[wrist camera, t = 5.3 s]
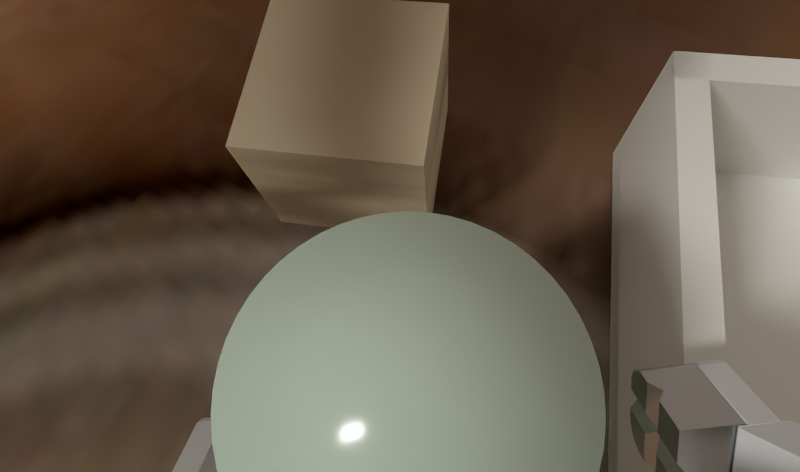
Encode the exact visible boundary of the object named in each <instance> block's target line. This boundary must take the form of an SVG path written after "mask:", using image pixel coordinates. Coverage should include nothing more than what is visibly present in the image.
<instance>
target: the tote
mask: <svg viewBox="0 0 800 472" xmlns="http://www.w3.org/2000/svg"><path fill="white" fill-rule="evenodd" d="M714 359H721V360H723V361H725V362H726V363H727V364H728V365H729V366H730V367H731V368H732V369H733V370H734V371H735V372H736V373H737V374H738V375H739V377H740V378H741V379H742V380H743V381H744V382H745V383H746V384H747V385H748V386H749V387H750V388H751V389H752V390H753V391H754V392H755V394H756V395H757V396H758V397H759V398H760V399H761V400H762V401H763V402H764V403H765V404H766V405H767V406H768V407H769V408H770V409H771V411H772V412H773V413H774V414H775V415H776V416H777V417H778V418H779V419H780V420H781V421H793V422H796V423H798V424H800V59H787V58H772V57H757V56H742V55H727V54H713V53H698V52H683V51H673V53H672V54H671V56H670V58H669V59H668V61H667V63H666V65H665V66H664V68H663V70H662V71H661V73H660V75H659V76H658V78H657V80H656V81H655V83H654V85H653V86H652V88H651V90H650V92H649V93H648V95H647V97H646V98H645V100H644V102H643V103H642V105H641V107H640V108H639V110H638V112H637V113H636V115H635V117H634V118H633V120H632V122H631V124H630V125H629V127H628V129H627V130H626V132H625V134H624V135H623V137H622V139H621V140H620V142H619V144H618V145H617V147H616V149H615V151H614V152H613V177H612V247H611V317H610V387H609V457H608V472H655V470H656V468H654V467H652V466H651V465H649V464H648V463H646V462H645V461H644V460H643V458H642V457H641V455H640V453H639V451H638V449H637V446H636V443H635V441H634V438H633V433H632V428H631V423H630V407H631V406H632V405H633V404H634V403H635V401H636V400H637V398H636V396H635V394H634V393H633V391H632V389H631V377H632V374H633V371H634V370H639V369H647V368H656V367H664V366H672V365H681V364H690V363H691V362H699V361H706V360H714Z"/></svg>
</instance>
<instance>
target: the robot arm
mask: <svg viewBox="0 0 800 472" xmlns="http://www.w3.org/2000/svg"><path fill="white" fill-rule="evenodd" d="M631 389H632V391H633V393H634V394H635V396H636V398H637V400H636V401H635V403H634V404H633V405H632V406H631V407H630V423H631V428H632V433H633V438H634V441H635V443H636V446H637V449H638V451H639V453H640V455H641V457H642V458H643V460H644V461H645V462H646V463H648V464H649V465H651V466H652V467H654V468H656V470H655V472H800V424H798V423H796V422H793V421H781V420H780V419H779V418H778V417H777V416H776V415H775V414H774V413H773V412H772V411H771V409H770V408H769V407H768V406H767V405H766V404H765V403H764V402H763V401H762V400H761V399H760V398H759V397H758V396H757V395H756V394H755V392H754V391H753V390H752V389H751V388H750V387H749V386H748V385H747V384H746V383H745V382H744V381H743V380H742V379H741V378H740V377H739V375H738V374H737V373H736V372H735V371H734V370H733V369H732V368H731V367H730V366H729V365H728V364H727V363H726V362H725V361H723V360H721V359H714V360H706V361H699V362H691V363H690V364H681V365H672V366H664V367H656V368H647V369H639V370H634V371H633V374H632V377H631ZM172 472H217V469H216V463H215V457H214V451H213V446H212V434H211V417H204V418H202V419H201V420H199V421H198V422H197V423H196V425H195V427H194V429H193V431H192V433H191V435H190V437H189V439H188V441H187V443H186V445H185V447H184V449H183V451H182V453H181V455H180V457H179V459H178V460H177V462H176V464H175V466H174V468H173V470H172Z"/></svg>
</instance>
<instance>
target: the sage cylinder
mask: <svg viewBox="0 0 800 472" xmlns="http://www.w3.org/2000/svg"><path fill="white" fill-rule="evenodd" d="M605 428H606V410H605V394H604V387H603V382H602V377H601V371H600V366H599V363H598V359H597V356H596V353H595V350H594V347H593V344H592V341H591V338H590V336H589V334H588V332H587V330H586V328H585V325H584V323H583V321H582V319H581V317H580V315H579V313H578V312H577V310H576V309H575V307H574V305H573V304H572V302H571V301H570V299H569V297H568V296H567V294H566V293H565V292H564V291H563V289H562V288H561V287H560V286H559V284H558V283H557V282H556V281H555V279H554V278H553V277H552V276H551V275H550V274H549V273H548V272H547V271H546V270H545V269H544V268H543V267H542V266H541V265H540V264H539V263H538V262H537V261H536V260H535V259H534V258H533V257H531V256H530V255H529V254H527V253H526V252H525V251H523V250H522V249H521V248H519V247H518V246H517V245H516V244H514V243H512V242H511V241H509V240H507V239H506V238H504V237H502V236H500V235H499V234H497V233H495V232H493V231H491V230H489V229H486V228H484V227H482V226H479V225H477V224H475V223H472V222H469V221H466V220H462V219H459V218H455V217H452V216H447V215H441V214H435V213H429V212H411V211H403V212H389V213H380V214H375V215H370V216H365V217H360V218H357V219H354V220H351V221H348V222H345V223H342V224H339V225H337V226H335V227H332V228H330V229H328V230H326V231H324V232H321V233H319V234H318V235H316V236H314V237H313V238H311V239H309V240H308V241H306V242H304V243H303V244H301V245H300V246H298V247H297V248H296V249H294V250H293V251H292V252H291V253H289V254H288V255H287V256H285V257H284V258H283V259H282V260H280V261H279V262H278V263H277V264H276V265H275V266H274V267H273V268H272V269H271V270H270V271H269V272H268V273H267V274H266V275H265V276H264V278H263V279H262V280H261V281H260V283H259V284H258V285H257V286H256V288H255V289H254V290H253V291H252V293H251V294H250V295H249V297H248V298H247V300H246V302H245V303H244V305H243V306H242V308H241V310H240V311H239V313H238V314H237V316H236V318H235V320H234V322H233V325H232V327H231V329H230V331H229V333H228V335H227V337H226V340H225V343H224V346H223V349H222V352H221V355H220V358H219V361H218V365H217V370H216V375H215V380H214V385H213V391H212V404H211V434H212V446H213V451H214V457H215V463H216V469H217V472H599V470H600V466H601V461H602V456H603V451H604V442H605Z"/></svg>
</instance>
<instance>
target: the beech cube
mask: <svg viewBox="0 0 800 472" xmlns="http://www.w3.org/2000/svg"><path fill="white" fill-rule="evenodd" d="M448 48H449V3H433V2H416V1H400V0H270V3H269V6H268V9H267V13H266V16H265V19H264V22H263V26H262V29H261V32H260V35H259V39H258V42H257V45H256V48H255V52H254V55H253V58H252V61H251V64H250V68H249V71H248V74H247V77H246V81H245V84H244V87H243V90H242V94H241V97H240V100H239V103H238V107H237V110H236V113H235V116H234V120H233V123H232V126H231V129H230V132H229V136H228V139H227V142H226V145H225V147H226V148H227V149H228V151H229V152H230V153H231V155H232V156H233V157H234V159H235V160H236V161H237V163H238V164H239V165H240V167H241V168H242V169H243V171H244V172H245V173H246V175H247V176H248V178H249V179H250V180H251V182H252V183H253V184H254V186H255V187H256V188H257V190H258V191H259V192H260V194H261V195H262V196H263V198H264V199H265V200H266V202H267V203H268V204H269V206H270V207H271V208H272V210H273V211H274V213H275V214H276V215H277V217H278V218H279V219H280V221H281V222H285V223H294V224H302V225H311V226H319V227H328V228H332V227H335V226H337V225H339V224H342V223H345V222H348V221H351V220H354V219H357V218H360V217H365V216H370V215H375V214H380V213H389V212H403V211H411V212H429V213H433V208H434V201H435V194H436V187H437V180H438V173H439V166H440V159H441V153H442V146H443V139H444V132H445V125H446V118H447V111H448Z"/></svg>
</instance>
